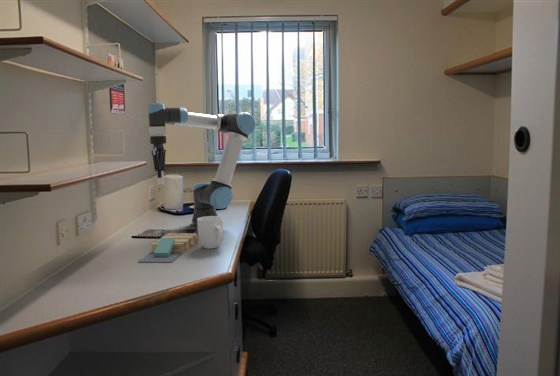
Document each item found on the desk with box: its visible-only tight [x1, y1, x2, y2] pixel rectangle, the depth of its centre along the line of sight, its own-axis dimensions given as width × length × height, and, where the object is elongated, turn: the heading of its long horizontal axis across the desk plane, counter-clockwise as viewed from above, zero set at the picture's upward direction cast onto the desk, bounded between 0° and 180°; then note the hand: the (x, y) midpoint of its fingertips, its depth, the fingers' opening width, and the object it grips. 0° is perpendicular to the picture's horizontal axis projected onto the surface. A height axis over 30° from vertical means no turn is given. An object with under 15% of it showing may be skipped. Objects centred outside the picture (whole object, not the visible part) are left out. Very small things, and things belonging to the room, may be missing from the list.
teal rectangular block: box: [154, 237, 175, 256], centre depth 192 cm, size 9×6×2 cm
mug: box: [196, 215, 224, 250], centre depth 202 cm, size 15×11×13 cm
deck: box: [150, 233, 198, 254], centre depth 205 cm, size 20×14×4 cm
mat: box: [137, 251, 184, 264], centre depth 189 cm, size 14×14×1 cm
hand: (160, 184), depth 224 cm, fingers closed
